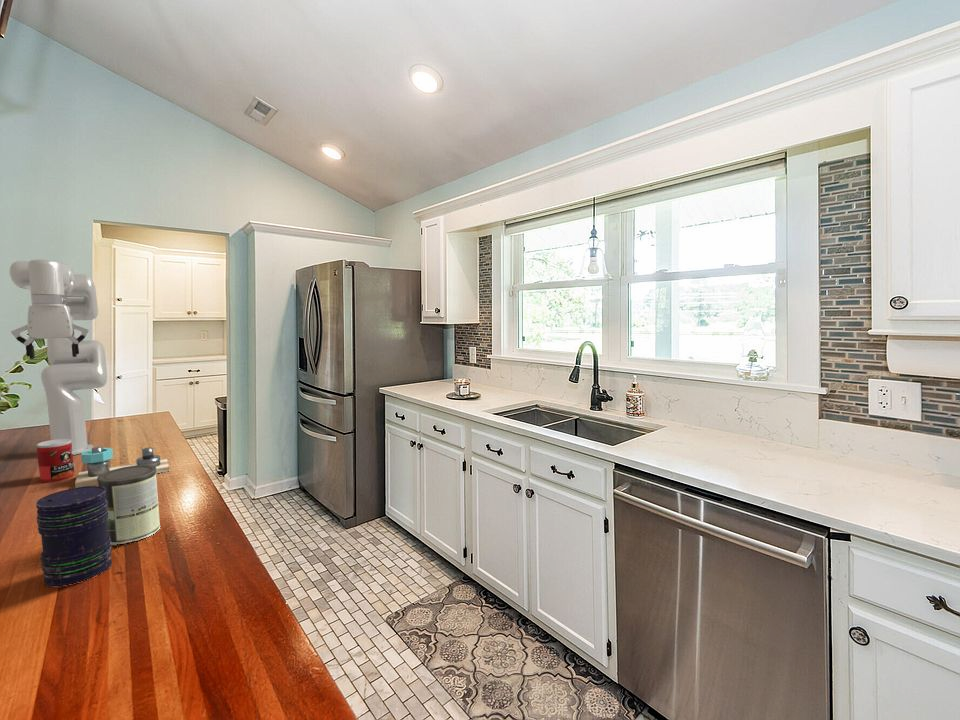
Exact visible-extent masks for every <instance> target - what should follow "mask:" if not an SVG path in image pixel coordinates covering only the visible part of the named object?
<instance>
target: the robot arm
mask: <svg viewBox="0 0 960 720" xmlns="http://www.w3.org/2000/svg"><path fill="white" fill-rule="evenodd" d="M9 276H10V279H11V281H12V282H13V284H14V285H16V287H18V288H19V289H23V290H30V299H31V300H30V301H31V305H28V310H27V320H26V321H27V324H26V325H24V326H23V325H22V326H20V327H19V328H16V329H13V330H12V331H11V334H12V335H13V337H14V338H15V339H16V341H18V342H20V343H21V344H23V345H24V346H25V353H26V357H29V359H30V360H33V359H35V358H36V357H35V356H36V355H35V354H36V353H35V346H34V344H33V343H34V342H35V341H36V340H37V339H38V340H41V339H42V340H45V339H47V340H46V341H47V342H46V346H47V347H46V351H47V352H46V353H47V360H48V362H49V363H50V365H48V366H46V367H44V368H43V369H42V371H41V372H40V373H41V374H40V377H41V378H40V379H41V382H42V386H43V388H44V393H45V397H46V404H47V412H48V423H49V432H50V433H49V434H50V440H56V439H70V440H71V442H72V451H73V456H75V455H80V454H82V452H85V451H88V450H92V448H93V447H94V445H93V444H91V443H88V438H87V437H88V435H87V426H86V425H87V424H86V415H85V413H86V412H85V403H84V401H83V398H81V396H79V395H77V393H75V392H74V391H81V390H92V389H100V388H103V387H104V386H105V385H106V384H107V382H108V373H107V360H106V359H107V358H106V352H105V347H104V345H103V344H102V343H101V341H98V340H95V339H94V340H93V339H85V338H86V336H87V335H88V334H89V331H90V330H89V329H87V328H85V327H82V326H81V325H80V326H79V325H76V324H74V321H92V320H95V319H96V318H97V317H98V315H99V307H98V298H97V290H96V286H95V283H94V281H93V279H92V278H91V277H90V276H89V275H87V274H78V273H76V274H75V273H74V272H73V270H72V269H71V268H70V267H69V266H68V265H67V264H65V263H62V262H59V261H57V260H51V259H43V258H41V259H40V258H39V259H31V260H29V261H28V260H27V261H25V260H22V261H21V260H18V261H14V262H12V263H11V265H10V267H9ZM26 331H27V334H28V338H27V339H26V338H24V337H23V336H22V335H21V334H22V333H23V332H26ZM77 331H79V332H81V333H80V335H79V334H78V332H77Z"/></svg>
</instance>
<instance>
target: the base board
mask: <svg viewBox="0 0 960 720" xmlns="http://www.w3.org/2000/svg"><path fill="white" fill-rule="evenodd" d="M136 465H137V463H131V464H124V465H119V466H118V465H117V466H111V467H110V471H111V470H114V469H118V468H123V467H128V466H136ZM156 469H157V471H156V473H160V474H162V473H161V472H166V473H168V472H167V471H169V472H170V465H169V461H168V458H162V459H161V458H160V465H159V466H157V467H156ZM97 477H98V476H97ZM97 477H89V476H88V470H86V471H81V472H80V471H79V472H78V474H77V477H76V479H75V482H74V485H75V487H74V488H78V487H87V486H98V481H97Z"/></svg>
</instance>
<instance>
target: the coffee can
mask: <svg viewBox="0 0 960 720" xmlns="http://www.w3.org/2000/svg"><path fill="white" fill-rule="evenodd" d="M156 471H157V469H156V467H155V466H151V465H136V466H128V467H123V468H118V469H114V470H111V471H108V472H105V473H103V474H101V475H99V476H98V477H97V481H98V484H97V486H100V487H104V488H105V490H106V494H105V496H106V501H107V504H108V509H107V510H108V513H109V514H108V518H107V531H108V535H109V536H110V539H111V546H118V545H117V544H123V543H127V542H132V541H137V540H140V539H143V538H146V537H149V536H151V535H152V536H154V535H155V533H156V532H157V531H158V530H159V529H160V530H161V528H160V527H161V522H160V521H161V520H160V509H159V497H158V495H159V493H158V483H157V482H158V481H157V474H156ZM160 530H159V531H160ZM159 531H158V532H159ZM158 532H157V533H158ZM157 533H156V534H157ZM153 534H154V535H153ZM152 536H151V537H152ZM149 538H150V537H149ZM146 539H147V538H146Z"/></svg>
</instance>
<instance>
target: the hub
mask: <svg viewBox="0 0 960 720" xmlns="http://www.w3.org/2000/svg"><path fill="white" fill-rule="evenodd" d="M141 454H142V456H140V457H137V458H136V461H135V462H136V463H137V465H151V466H155V467H157V466H159V465H160V460H161V456H160V455H156V454H154V447H145V448H142V449H141ZM136 463H135V464H136Z"/></svg>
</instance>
